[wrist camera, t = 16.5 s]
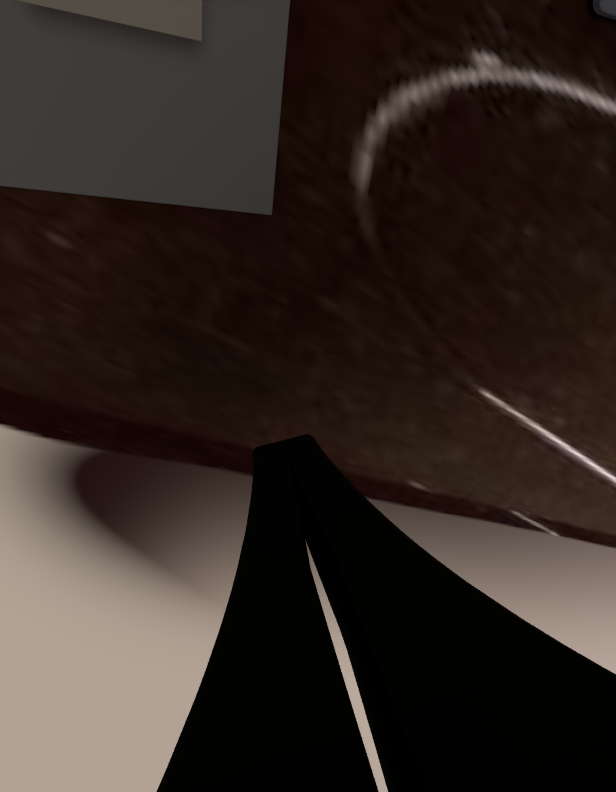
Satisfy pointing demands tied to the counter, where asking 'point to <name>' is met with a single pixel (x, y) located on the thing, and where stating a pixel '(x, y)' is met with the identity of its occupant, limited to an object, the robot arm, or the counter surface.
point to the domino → (139, 13)
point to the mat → (144, 105)
